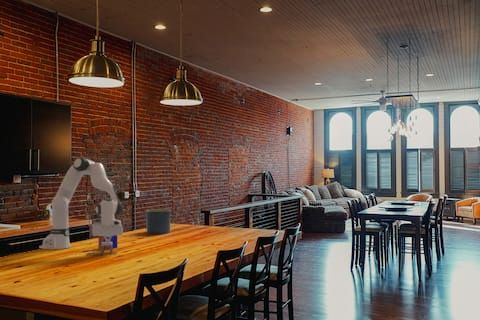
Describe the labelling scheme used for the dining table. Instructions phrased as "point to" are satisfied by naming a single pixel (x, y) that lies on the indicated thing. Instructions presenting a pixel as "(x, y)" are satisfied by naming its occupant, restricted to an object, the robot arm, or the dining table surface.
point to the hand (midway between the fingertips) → (107, 242)
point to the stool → (105, 245)
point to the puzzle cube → (113, 240)
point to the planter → (158, 221)
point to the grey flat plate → (100, 253)
